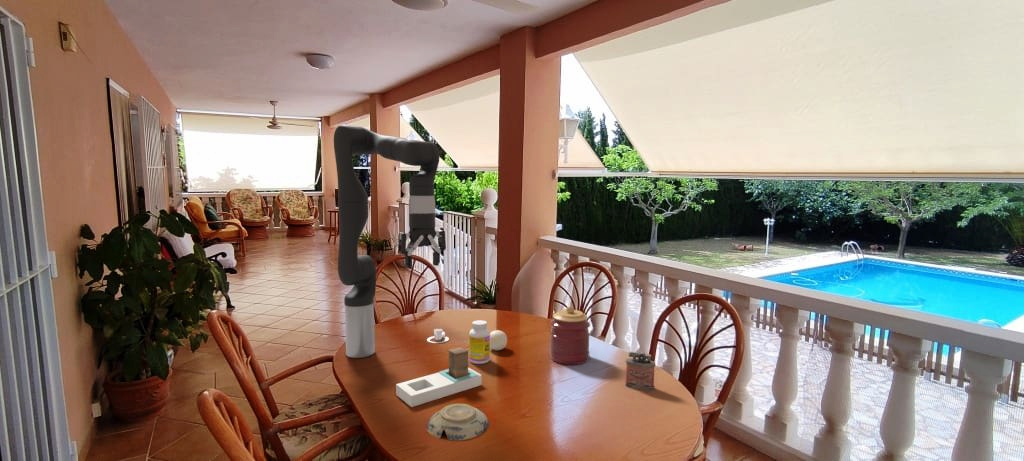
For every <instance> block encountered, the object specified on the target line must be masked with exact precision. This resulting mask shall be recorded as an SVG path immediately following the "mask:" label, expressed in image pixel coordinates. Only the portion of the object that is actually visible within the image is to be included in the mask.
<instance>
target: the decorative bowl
mask: <svg viewBox="0 0 1024 461" xmlns="http://www.w3.org/2000/svg"><path fill="white" fill-rule="evenodd" d="M489 424H490V422H489V419H488V417H487V415H486V414H485V413H484V412H483V411H481V410H480V409H479V408H476V407H474V406H472V405H470V404H467V403H453V404H448V405H446V406H444V407H443V408H441V409H440V410H438V411H437V412H435V413H434V414H433V415H432V416H431V417H430V419H429V420H428V421H427V422H426V426H427V428H426V430H427V433H429V434H430V435H431V436H434V437H436V438H438V439H441V438H442V435H443V432H444V433H445V434H446V438H447V441H463V440H464V441H465V440H469V439H473V438H476V437H478V436H480V435H481V434H483V433H484V432H485V431H487V429H488V427H489Z"/></svg>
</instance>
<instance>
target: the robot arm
mask: <svg viewBox="0 0 1024 461" xmlns="http://www.w3.org/2000/svg"><path fill="white" fill-rule="evenodd" d="M333 149H334V157H335V164H336V165H335V167H336V176H337V191H338V192H337V199H338V200H337V201H338V202H337V206H338V207H337V208H338V221H339V224H338V226H339V230H338V232H339V234H338V235H339V236H338V238H339V241H338V242H339V243H338V257H337V274H338V278H339V280H340V282H341V284H343V285H345V286H347V287H351V286H353V287H352V288H351V290H350V291H349V292H347V294H345V296H344V300H343V301H344V302H343V303H344V327H345V328H344V330H345V332H344V333H345V356H347V357H348V358H353V359H360V358H366V357H369V356H372V355H374V354H375V350H376V349H375V314H374V313H375V312H374V308H375V307H374V299H375V296H376V289H377V288H376V285H377V268H376V263H375V261H374V259H373V257H371V256H370V255H368V254H358V252H359V250H358V247H359V241H360V237H361V234H362V233H363V231H364V229H365V226H366V224H367V222H368V218H369V195H368V193H367V190H366V189H365V187H364V185H363V184H362V181H361V180H360V179H359V177H358V175H357V173H356V171H355V168H354V159H353V156H365V155H379V156H380V157H382V158H384V159H387V160H390V161H396V162H400V163H402V164H404V165H408V166H413V167H414V166H415V167H420V168H419V172H418V173H417V174H413V175H411V176H410V177H409V180H408V182H409V184H408V186H409V187H408V189H409V190H408V192H409V198H408V227H409V228H408V229H409V230H408V232H399V233H398V242H397V243H398V244H397V253H398V254H400V255H401V254H402V255H403V256H404V266H405V267H406V269H408V270H412V269H413V253H414V251H415V250H417V248H423V247H429V248H430V249H432V251H433V252H432V265H433V266H436V267H437V266H438V267H439V264H440V263H441V252H443V251H446V250H447V242H446V231H445V230H443V229H437V230H436V199H435V180H436V176H437V171H438V168H439V163H440V150H439V148H438V146H437V145H436V143H434V142H432V141H424V140H423V141H422V140H412V139H407V138H404V137H399V136H393V135H383V134H380V133H377V132H374V131H372V130H370V129H367V128H365V127H362V126H357V125H347V124H341V125H338V126H336V128H335V130H334V133H333ZM435 238H437V242H436V240H435ZM408 239H409V240H410V241H409V242H408V244H407V241H408Z"/></svg>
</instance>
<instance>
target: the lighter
mask: <svg viewBox="0 0 1024 461" xmlns="http://www.w3.org/2000/svg"><path fill="white" fill-rule="evenodd" d="M628 357H629V358H626V359H625V363H626V368H625V372H626V373H625V382H624V386H625V387H627V388H632V389H637V390H645V391H653V390H655V368H656V367H655V366H656V362H655V361H653V360H651V359H652V355H651V354H649V353H645V352H644V351H640V353H639V352H637V351H636V352H635V351H628Z"/></svg>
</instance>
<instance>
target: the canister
mask: <svg viewBox="0 0 1024 461" xmlns="http://www.w3.org/2000/svg"><path fill="white" fill-rule="evenodd" d="M552 317H553V319H551V320H550V322H549V323H550V325H551V330H550V332H549V334H550V347H549V355H550V359H551V360H552V361H554V362H556V363H559V364H563V365H579V364H580V365H581V364H585V363H586V362H588V360H589V356H590V335H591V334H590V331H589V328H590V326H591V323H590V322H589V321H588V316H587V314H585V313H584V312H583V311H581V310H579V309H575V308H574V306H573V305H568V306H566V308H565V309H560V310H557V311H556V312H554V313H553V315H552Z"/></svg>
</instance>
